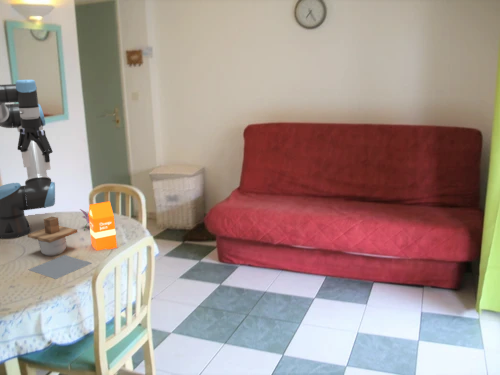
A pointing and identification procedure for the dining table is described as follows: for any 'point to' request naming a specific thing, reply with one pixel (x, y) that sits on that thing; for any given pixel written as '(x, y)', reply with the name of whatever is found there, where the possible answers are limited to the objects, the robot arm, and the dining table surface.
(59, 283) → the dining table surface
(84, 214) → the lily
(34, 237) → the lid
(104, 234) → the orange juice
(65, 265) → the mat
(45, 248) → the teacup
